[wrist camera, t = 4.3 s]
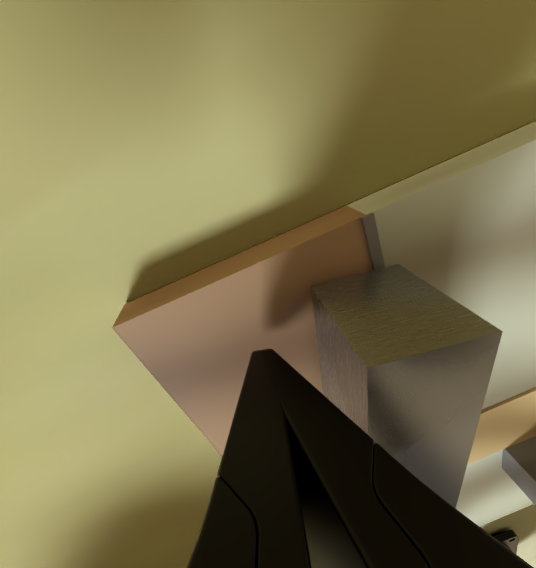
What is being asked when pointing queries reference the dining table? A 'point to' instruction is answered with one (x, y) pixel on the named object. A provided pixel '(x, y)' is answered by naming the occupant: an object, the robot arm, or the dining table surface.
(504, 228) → the door mock-up board
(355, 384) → the bar
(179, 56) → the dining table surface
